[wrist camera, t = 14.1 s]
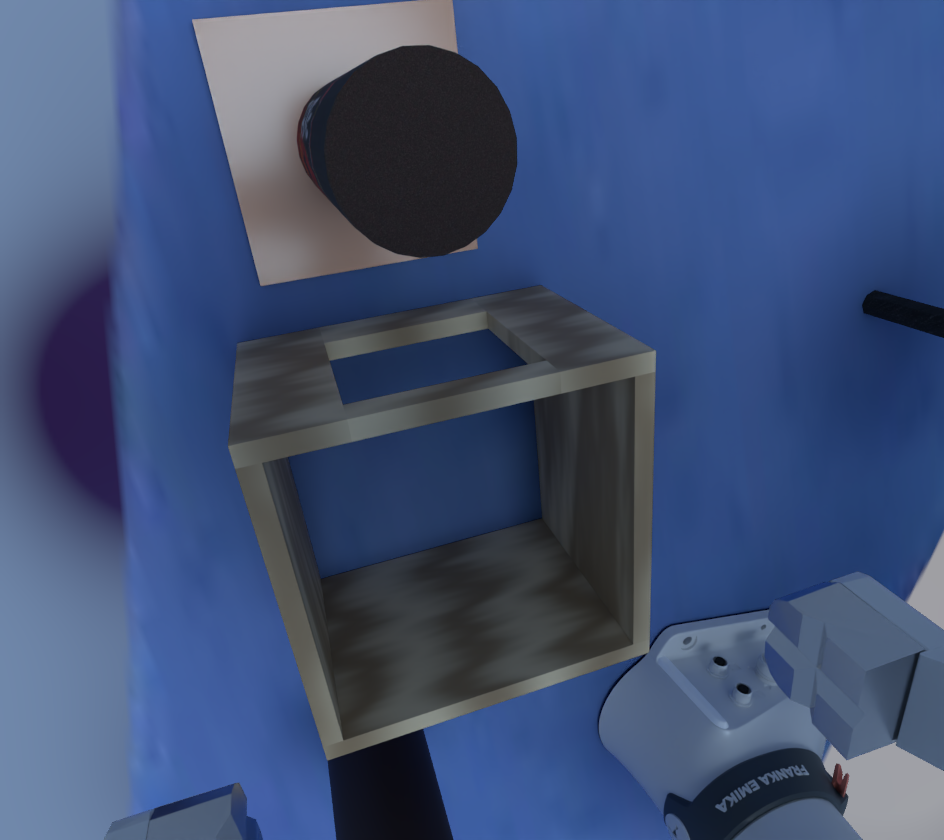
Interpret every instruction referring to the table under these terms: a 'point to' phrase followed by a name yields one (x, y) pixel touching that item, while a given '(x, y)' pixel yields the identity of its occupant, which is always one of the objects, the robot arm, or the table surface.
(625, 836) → the table surface
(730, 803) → the robot arm
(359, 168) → the deodorant
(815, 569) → the table surface
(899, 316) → the solar garden light
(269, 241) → the tile
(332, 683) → the crate
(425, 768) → the bottle
